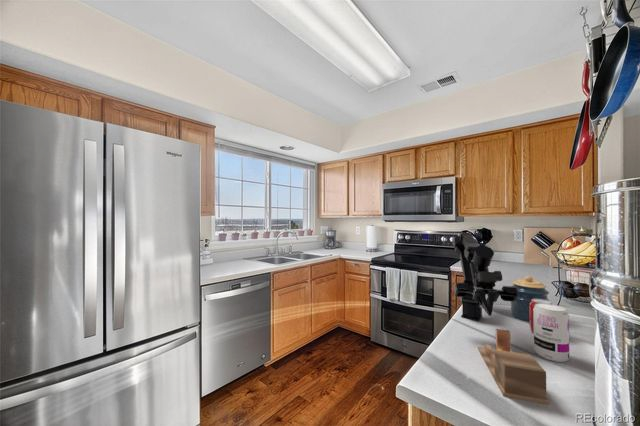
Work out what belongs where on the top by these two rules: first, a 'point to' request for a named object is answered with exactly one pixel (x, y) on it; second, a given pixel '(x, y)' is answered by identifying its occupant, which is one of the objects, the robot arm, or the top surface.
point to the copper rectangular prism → (502, 340)
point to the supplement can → (551, 332)
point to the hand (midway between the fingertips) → (490, 315)
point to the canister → (527, 296)
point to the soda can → (532, 305)
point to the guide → (516, 374)
